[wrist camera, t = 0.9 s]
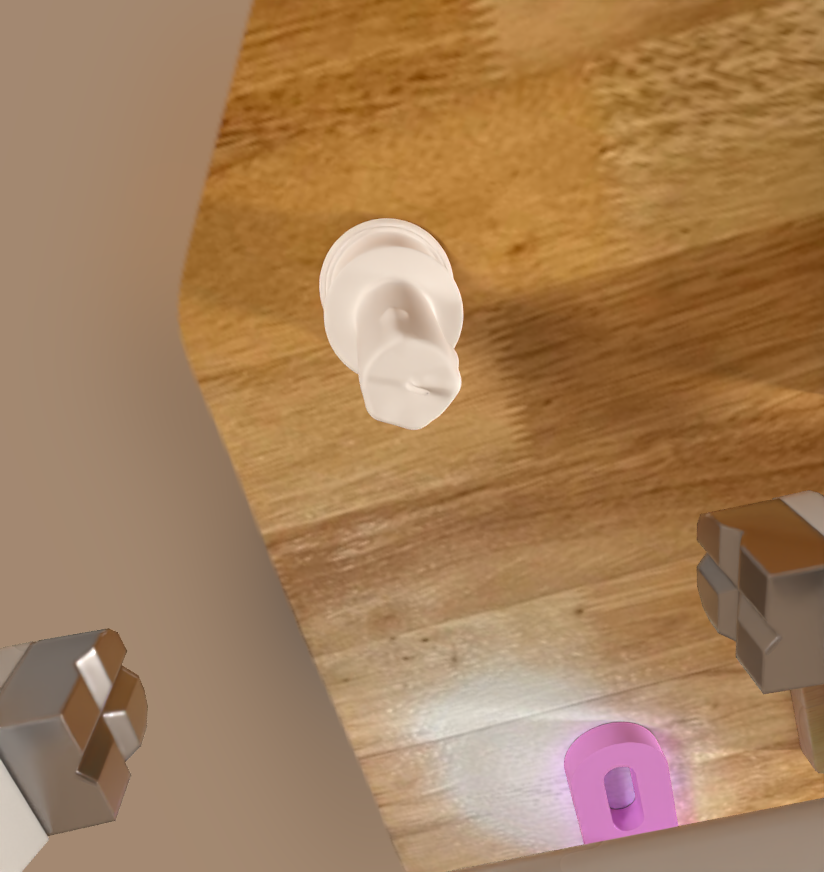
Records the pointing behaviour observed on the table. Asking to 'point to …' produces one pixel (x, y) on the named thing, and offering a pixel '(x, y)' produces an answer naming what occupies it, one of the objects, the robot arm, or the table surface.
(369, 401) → the white turned post
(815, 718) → the peg board
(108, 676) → the robot arm
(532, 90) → the table surface
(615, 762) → the bracket
